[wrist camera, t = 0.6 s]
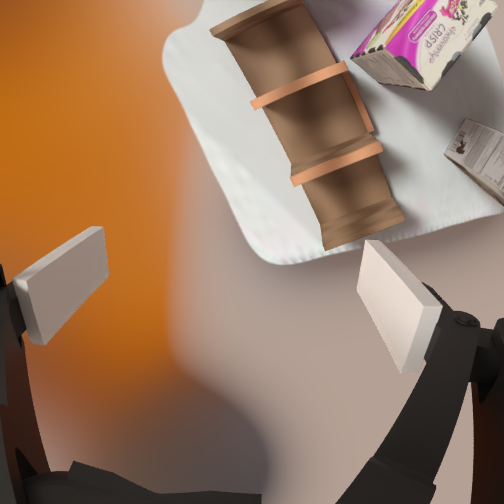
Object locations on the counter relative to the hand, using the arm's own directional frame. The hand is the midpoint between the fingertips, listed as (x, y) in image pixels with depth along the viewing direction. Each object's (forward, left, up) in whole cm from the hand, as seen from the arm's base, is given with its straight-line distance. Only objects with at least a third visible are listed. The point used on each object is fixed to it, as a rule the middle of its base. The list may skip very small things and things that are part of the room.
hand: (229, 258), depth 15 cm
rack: (-6, -1, -26) cm, 27 cm away
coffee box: (-25, +11, -26) cm, 38 cm away
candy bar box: (-19, -6, -26) cm, 33 cm away
